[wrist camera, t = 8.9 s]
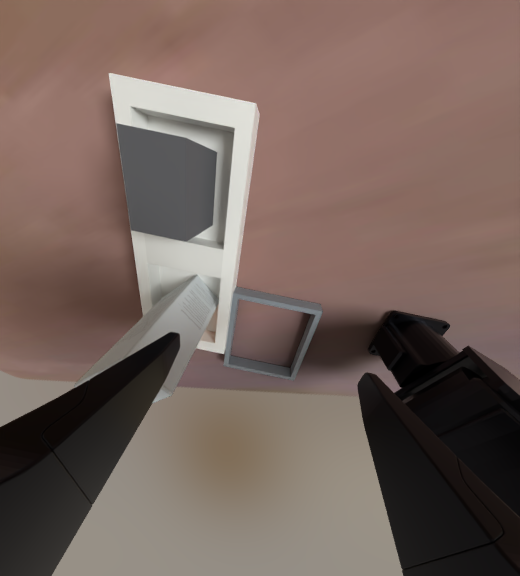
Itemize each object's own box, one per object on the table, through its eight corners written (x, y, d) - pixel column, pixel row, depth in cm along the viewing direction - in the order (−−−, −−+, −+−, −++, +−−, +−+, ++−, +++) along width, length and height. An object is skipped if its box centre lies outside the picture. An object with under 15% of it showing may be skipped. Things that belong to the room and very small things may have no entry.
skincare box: (186, 321, 25) (119, 419, 15) (162, 296, 24) (68, 386, 13) (222, 300, 23) (173, 398, 13) (198, 272, 22) (120, 356, 11)
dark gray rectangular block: (217, 152, 16) (185, 137, 11) (212, 225, 19) (186, 241, 14) (170, 142, 16) (116, 123, 11) (172, 217, 19) (131, 230, 14)
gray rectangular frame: (320, 304, 23) (322, 311, 21) (293, 371, 28) (294, 380, 27) (236, 286, 23) (233, 293, 21) (226, 357, 28) (223, 365, 27)
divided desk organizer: (259, 114, 15) (255, 103, 13) (228, 340, 27) (223, 354, 25) (133, 88, 15) (108, 72, 13) (157, 325, 27) (145, 337, 25)
